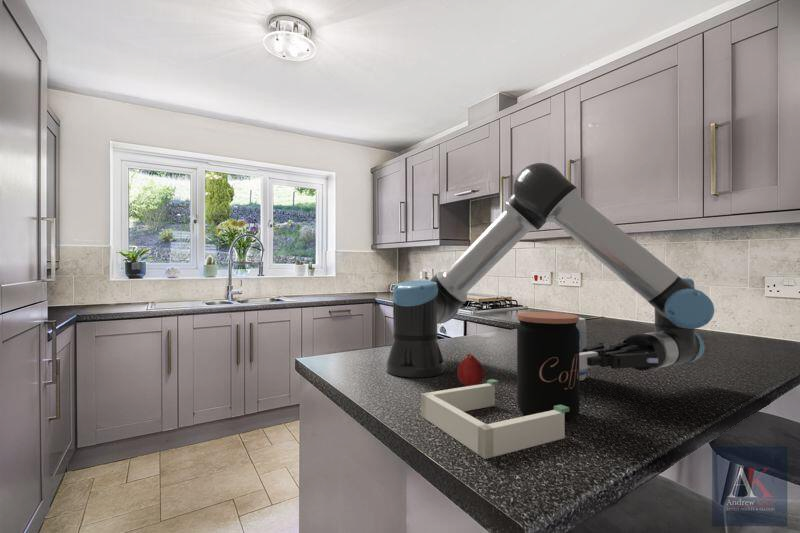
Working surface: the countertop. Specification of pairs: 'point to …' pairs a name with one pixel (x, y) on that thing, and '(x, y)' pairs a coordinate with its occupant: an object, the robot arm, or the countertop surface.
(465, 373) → the onion
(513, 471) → the countertop surface
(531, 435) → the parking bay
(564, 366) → the coffee jar
